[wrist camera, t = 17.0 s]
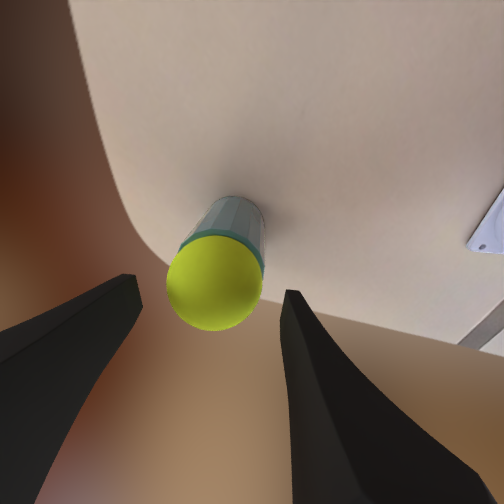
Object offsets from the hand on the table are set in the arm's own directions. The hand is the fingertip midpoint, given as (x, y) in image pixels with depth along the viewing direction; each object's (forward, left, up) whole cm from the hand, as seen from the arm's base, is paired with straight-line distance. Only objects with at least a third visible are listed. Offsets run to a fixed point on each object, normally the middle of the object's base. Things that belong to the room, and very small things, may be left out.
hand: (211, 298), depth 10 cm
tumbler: (0, 0, -10) cm, 10 cm away
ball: (0, 0, -4) cm, 4 cm away
